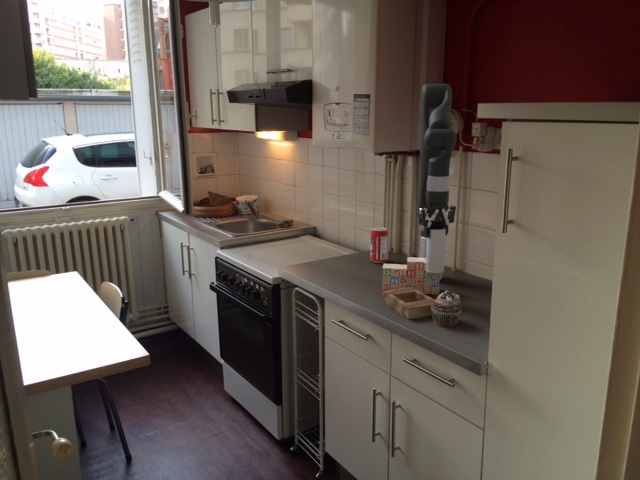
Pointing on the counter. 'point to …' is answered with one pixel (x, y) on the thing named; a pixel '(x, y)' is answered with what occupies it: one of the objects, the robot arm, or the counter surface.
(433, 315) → the cupcake
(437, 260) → the travel mug
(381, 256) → the soda can
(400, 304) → the holder board
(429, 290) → the stack of blocks
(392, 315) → the counter surface
